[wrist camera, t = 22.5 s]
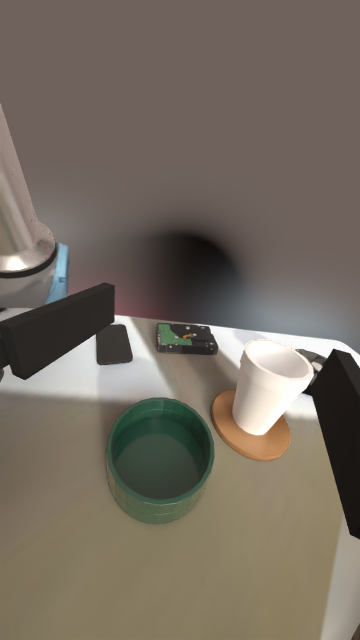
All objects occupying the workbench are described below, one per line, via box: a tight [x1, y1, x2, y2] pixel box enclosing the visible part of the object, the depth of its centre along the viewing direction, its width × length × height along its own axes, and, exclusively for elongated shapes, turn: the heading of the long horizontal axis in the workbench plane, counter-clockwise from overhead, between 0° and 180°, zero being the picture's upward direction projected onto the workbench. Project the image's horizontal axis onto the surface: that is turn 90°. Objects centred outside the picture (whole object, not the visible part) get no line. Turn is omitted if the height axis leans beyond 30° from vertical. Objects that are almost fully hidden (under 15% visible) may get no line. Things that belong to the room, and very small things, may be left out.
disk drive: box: [157, 323, 218, 354], centre depth 55 cm, size 10×3×15 cm
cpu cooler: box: [295, 349, 327, 396], centre depth 47 cm, size 10×6×10 cm
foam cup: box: [232, 339, 314, 435], centre depth 33 cm, size 10×9×13 cm
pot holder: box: [212, 389, 290, 461], centre depth 36 cm, size 13×13×1 cm
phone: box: [96, 324, 133, 365], centre depth 50 cm, size 7×1×15 cm
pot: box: [106, 398, 214, 524], centre depth 28 cm, size 13×13×4 cm
